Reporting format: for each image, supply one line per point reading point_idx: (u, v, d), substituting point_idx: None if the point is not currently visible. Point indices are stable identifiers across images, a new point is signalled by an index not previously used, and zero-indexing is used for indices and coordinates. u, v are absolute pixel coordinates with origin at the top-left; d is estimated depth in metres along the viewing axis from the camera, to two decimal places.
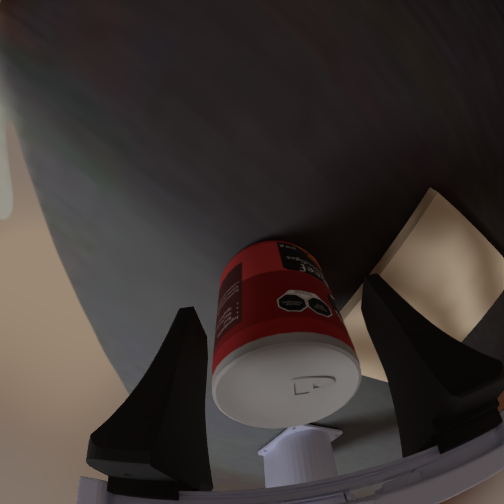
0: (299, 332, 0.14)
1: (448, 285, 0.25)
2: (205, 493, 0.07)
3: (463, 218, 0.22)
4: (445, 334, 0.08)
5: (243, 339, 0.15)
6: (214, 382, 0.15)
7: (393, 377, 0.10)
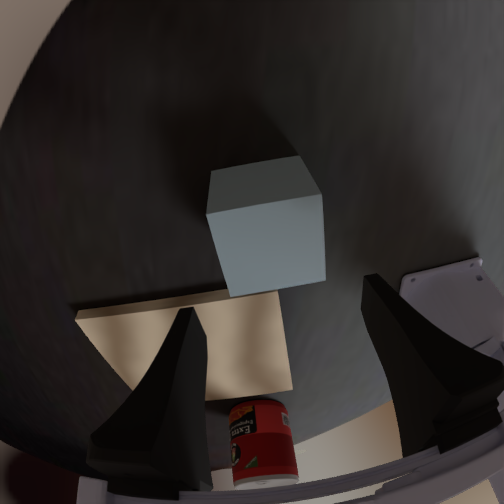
0: None
1: None
2: (205, 493, 0.07)
3: (132, 388, 0.32)
4: (445, 334, 0.08)
5: None
6: None
7: (393, 377, 0.10)
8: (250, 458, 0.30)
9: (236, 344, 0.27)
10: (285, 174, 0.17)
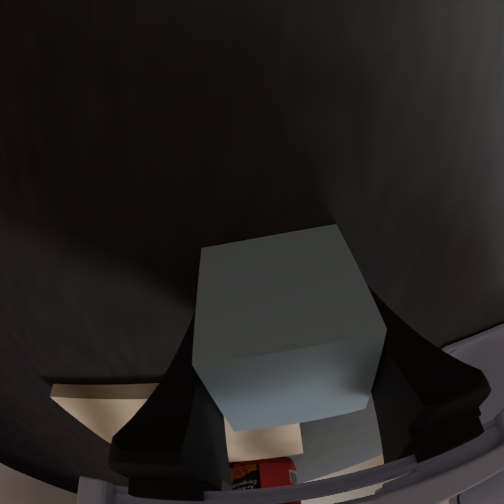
0: None
1: None
2: (205, 493, 0.07)
3: None
4: (425, 341, 0.08)
5: None
6: None
7: (374, 382, 0.10)
8: None
9: None
10: (320, 271, 0.10)
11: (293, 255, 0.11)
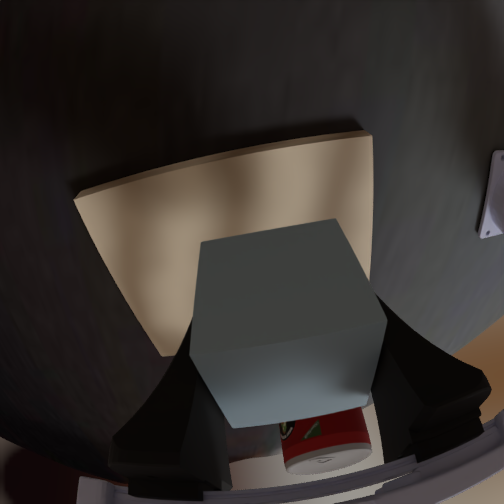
0: None
1: None
2: (205, 493, 0.07)
3: (145, 328, 0.24)
4: (425, 341, 0.08)
5: None
6: None
7: (374, 382, 0.10)
8: (310, 423, 0.22)
9: None
10: (319, 263, 0.10)
11: (292, 248, 0.11)
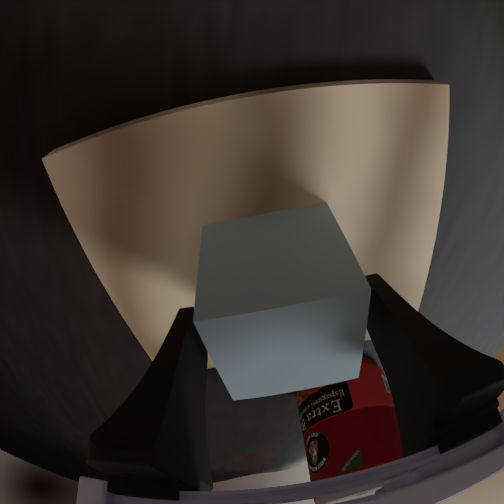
0: None
1: None
2: (205, 493, 0.07)
3: (139, 338, 0.18)
4: (445, 334, 0.08)
5: None
6: None
7: (393, 377, 0.10)
8: (349, 453, 0.17)
9: (367, 210, 0.14)
10: (310, 241, 0.12)
11: (286, 229, 0.12)
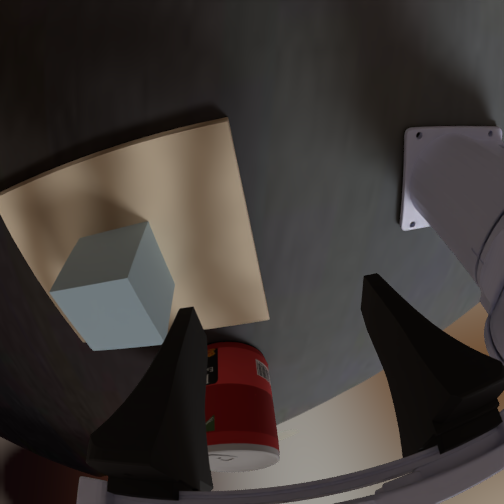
0: None
1: None
2: (205, 493, 0.07)
3: (63, 314, 0.24)
4: (445, 334, 0.08)
5: None
6: None
7: (393, 377, 0.10)
8: (206, 418, 0.23)
9: (180, 224, 0.20)
10: (120, 248, 0.17)
11: (114, 240, 0.18)
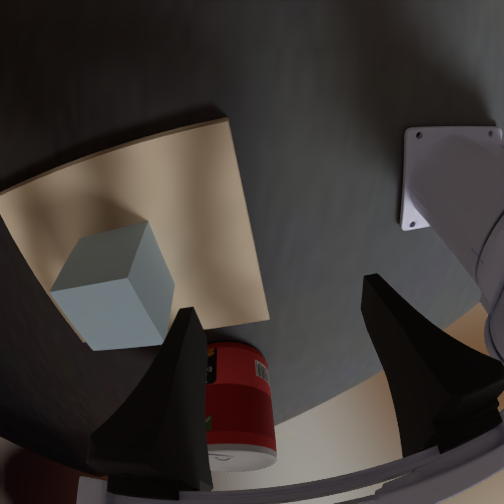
0: None
1: None
2: (205, 493, 0.07)
3: (63, 314, 0.24)
4: (445, 334, 0.08)
5: None
6: (253, 469, 0.24)
7: (393, 377, 0.10)
8: None
9: (180, 224, 0.20)
10: (120, 248, 0.17)
11: (114, 240, 0.18)
